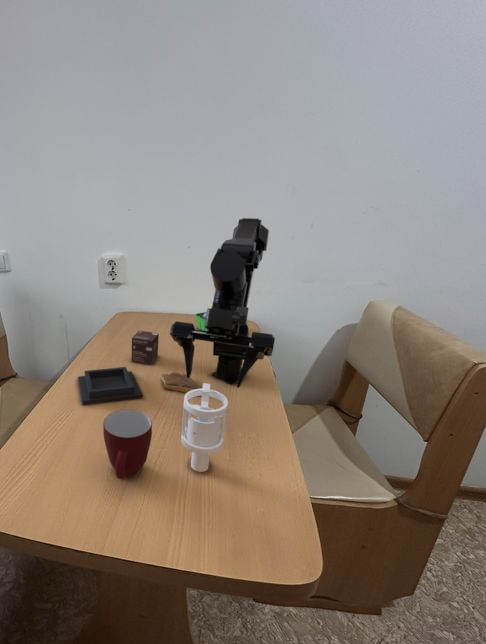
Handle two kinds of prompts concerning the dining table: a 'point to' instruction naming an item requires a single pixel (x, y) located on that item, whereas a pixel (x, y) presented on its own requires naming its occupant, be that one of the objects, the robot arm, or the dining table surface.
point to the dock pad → (108, 386)
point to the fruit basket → (201, 320)
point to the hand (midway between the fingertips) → (212, 382)
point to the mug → (127, 440)
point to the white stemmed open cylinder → (203, 426)
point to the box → (145, 347)
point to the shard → (179, 382)
